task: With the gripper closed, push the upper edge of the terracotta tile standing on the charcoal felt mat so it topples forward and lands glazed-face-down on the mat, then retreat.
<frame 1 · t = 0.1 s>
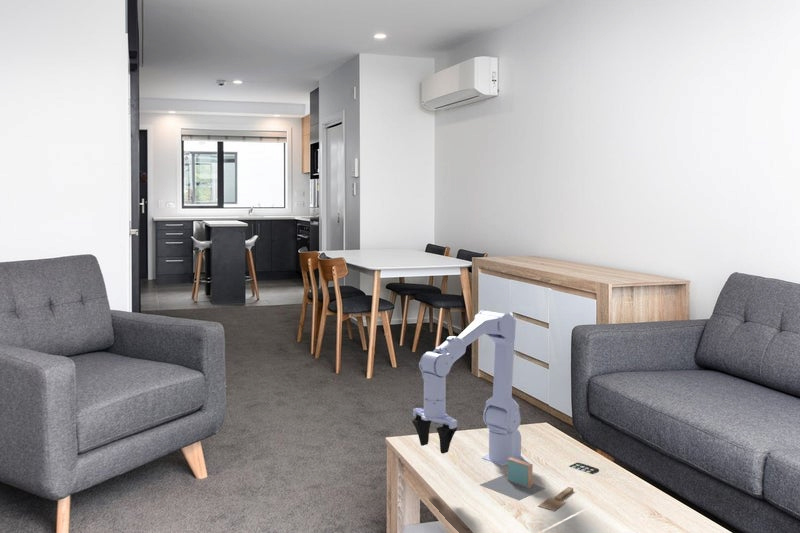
hand: (434, 448, 187), 10 cm above the table, fingers open, 7 cm apart
smartphone: (573, 475, 197), on the table
mat: (512, 487, 187), on the table
tile: (519, 483, 189), resting on mat
walnut turner: (557, 502, 178), on the table
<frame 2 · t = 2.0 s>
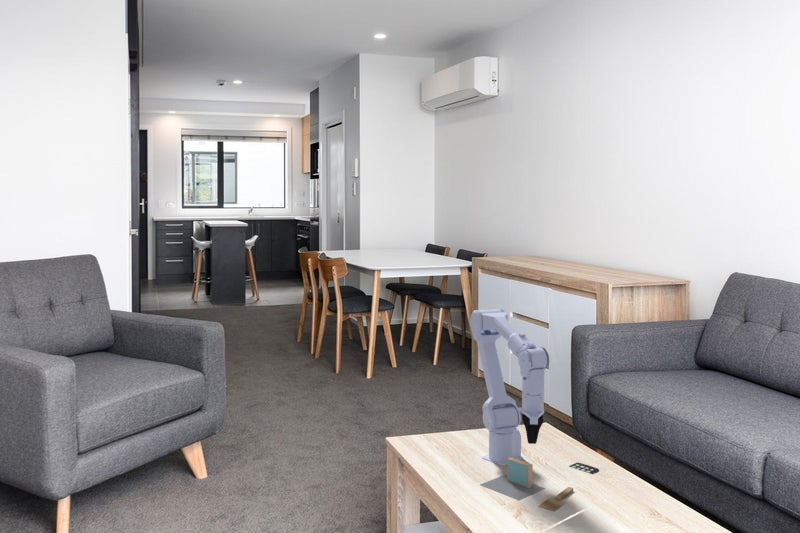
hand: (531, 442, 191), 10 cm above the table, fingers closed
nothing on the table moved.
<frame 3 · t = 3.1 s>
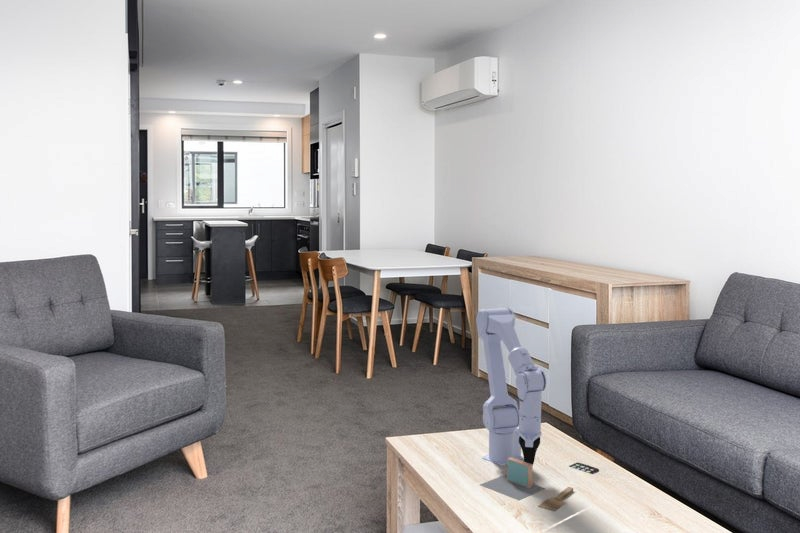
hand: (529, 464, 191), 5 cm above the table, fingers closed
nothing on the table moved.
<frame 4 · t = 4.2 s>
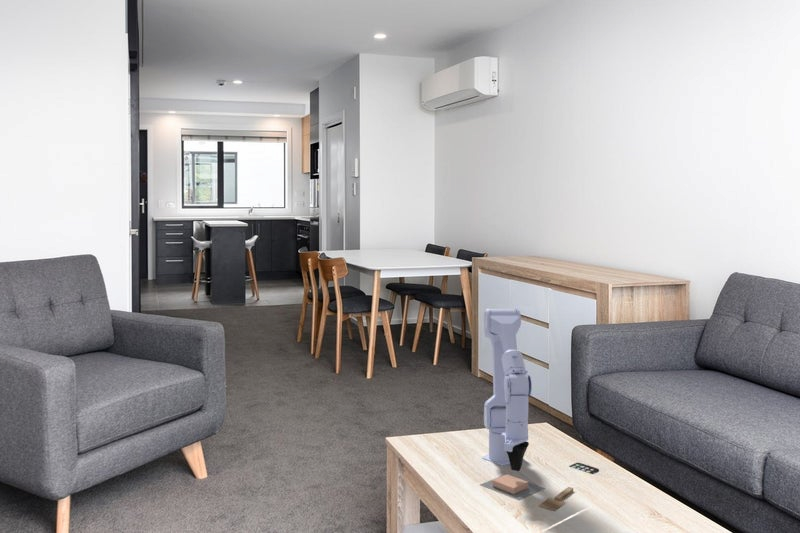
hand: (515, 469, 187), 5 cm above the table, fingers closed
tile: (517, 480, 188), point 1 cm above the table, tilted 90°, touching mat
everything else where it was.
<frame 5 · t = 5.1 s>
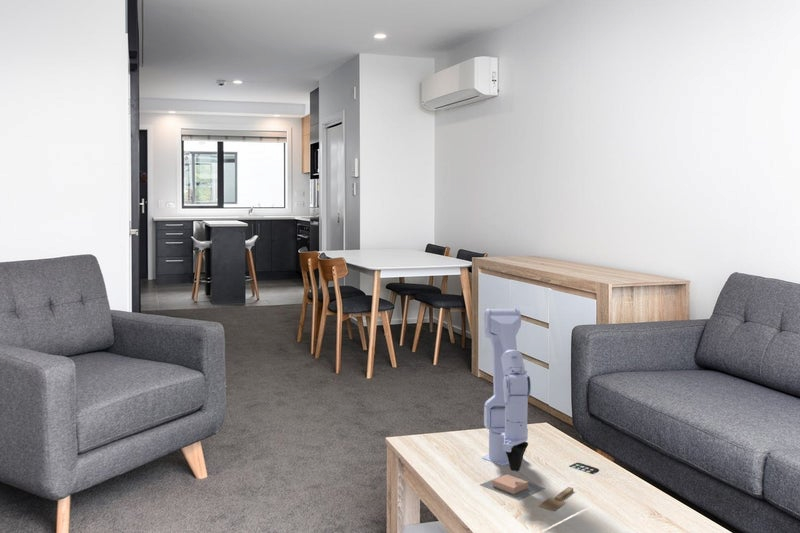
hand: (515, 470, 187), 5 cm above the table, fingers closed
nothing on the table moved.
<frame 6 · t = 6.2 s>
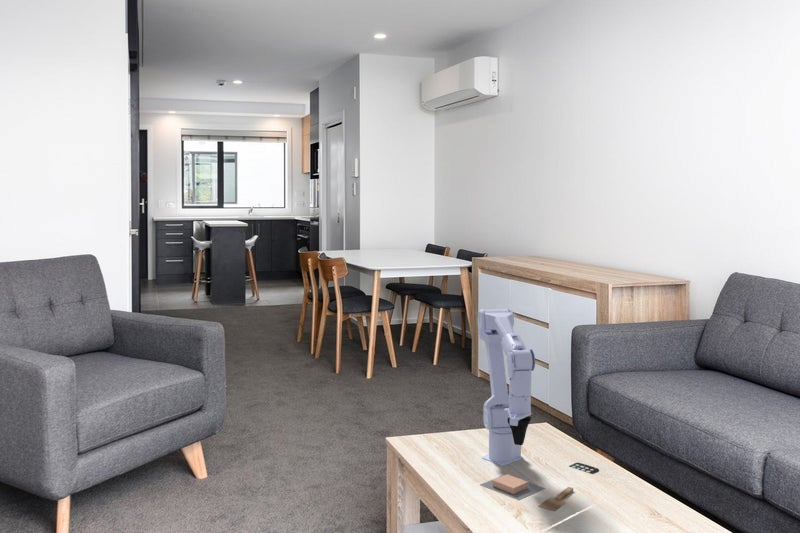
hand: (518, 444, 190), 10 cm above the table, fingers closed
nothing on the table moved.
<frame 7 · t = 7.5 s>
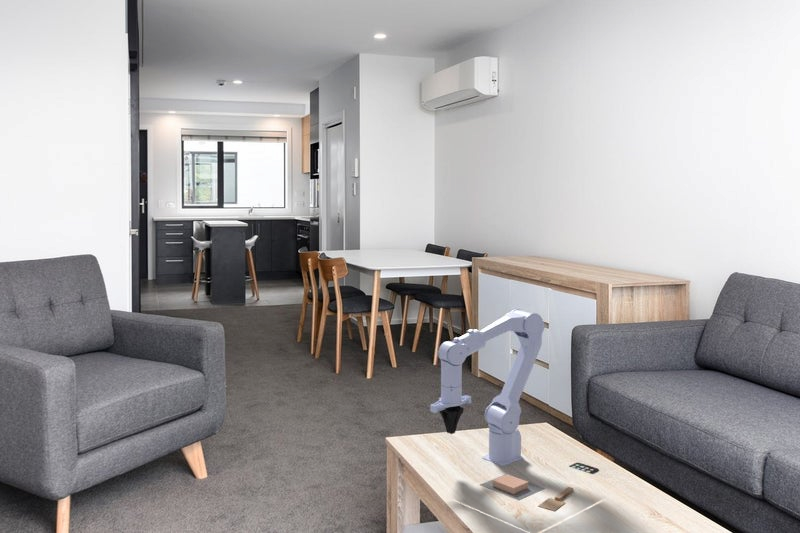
hand: (450, 432, 199), 10 cm above the table, fingers closed
nothing on the table moved.
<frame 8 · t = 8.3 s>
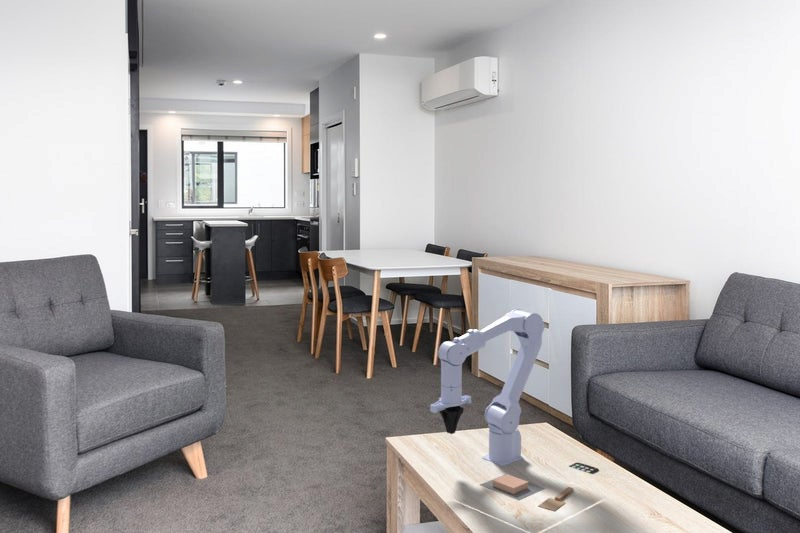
hand: (450, 432, 199), 10 cm above the table, fingers closed
nothing on the table moved.
at the end: tile tilted 90°; tile inside the target area on the mat (2.6 cm from its centre), point 1.3 cm above the mat's base; tile touching mat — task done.
